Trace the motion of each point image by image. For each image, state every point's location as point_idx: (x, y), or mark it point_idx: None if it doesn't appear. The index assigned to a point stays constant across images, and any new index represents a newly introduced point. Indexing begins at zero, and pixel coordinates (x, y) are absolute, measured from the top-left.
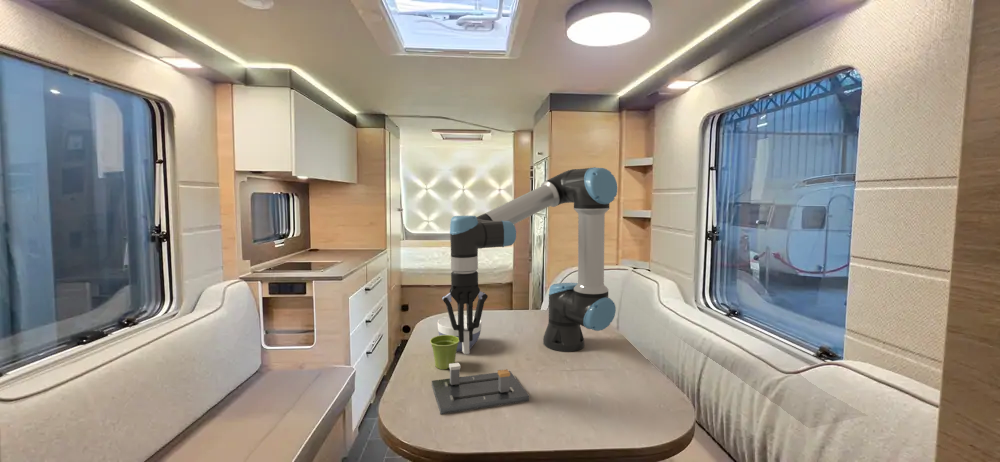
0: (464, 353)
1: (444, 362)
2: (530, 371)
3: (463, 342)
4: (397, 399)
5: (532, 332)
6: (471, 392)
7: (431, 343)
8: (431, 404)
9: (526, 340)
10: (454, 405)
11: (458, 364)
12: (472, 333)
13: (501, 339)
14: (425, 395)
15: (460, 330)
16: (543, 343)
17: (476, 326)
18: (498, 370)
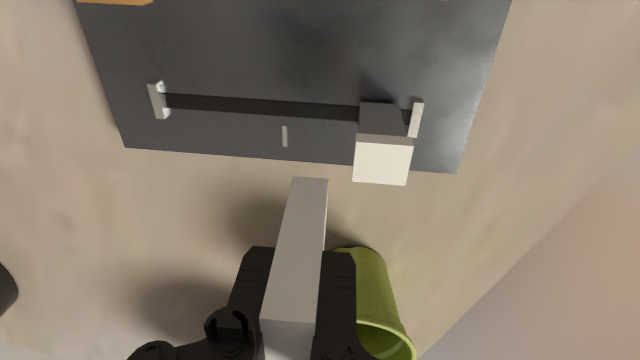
0: (326, 182)
1: (364, 265)
2: (52, 142)
3: (322, 250)
4: (634, 103)
5: (57, 342)
6: (326, 9)
7: (415, 350)
8: (527, 5)
9: (74, 315)
10: None
11: (360, 162)
12: (230, 299)
13: (150, 338)
14: (510, 97)
15: (351, 348)
16: (16, 286)
17: (159, 356)
18: (136, 3)
